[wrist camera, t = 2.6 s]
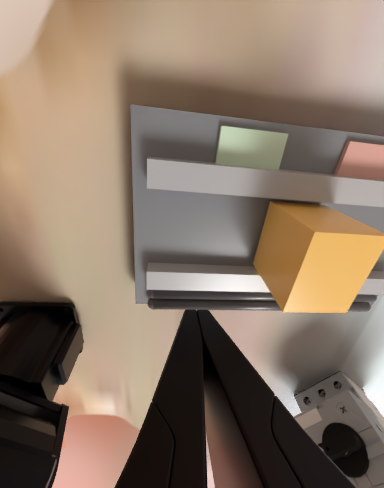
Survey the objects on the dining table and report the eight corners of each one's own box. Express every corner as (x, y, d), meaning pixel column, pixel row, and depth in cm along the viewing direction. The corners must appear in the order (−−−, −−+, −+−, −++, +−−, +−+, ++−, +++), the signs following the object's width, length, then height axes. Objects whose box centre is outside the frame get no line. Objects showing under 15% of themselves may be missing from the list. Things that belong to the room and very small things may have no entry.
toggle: (252, 264, 16) (282, 312, 12) (270, 201, 14) (315, 232, 10) (300, 265, 17) (346, 312, 13) (324, 205, 15) (391, 236, 10)
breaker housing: (138, 288, 19) (133, 314, 17) (135, 107, 13) (126, 101, 10) (354, 293, 22) (381, 316, 19) (439, 145, 16) (497, 148, 13)
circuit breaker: (319, 352, 26) (467, 571, 13) (363, 390, 32) (499, 573, 19) (270, 381, 29) (356, 595, 15) (320, 412, 34) (414, 590, 21)
